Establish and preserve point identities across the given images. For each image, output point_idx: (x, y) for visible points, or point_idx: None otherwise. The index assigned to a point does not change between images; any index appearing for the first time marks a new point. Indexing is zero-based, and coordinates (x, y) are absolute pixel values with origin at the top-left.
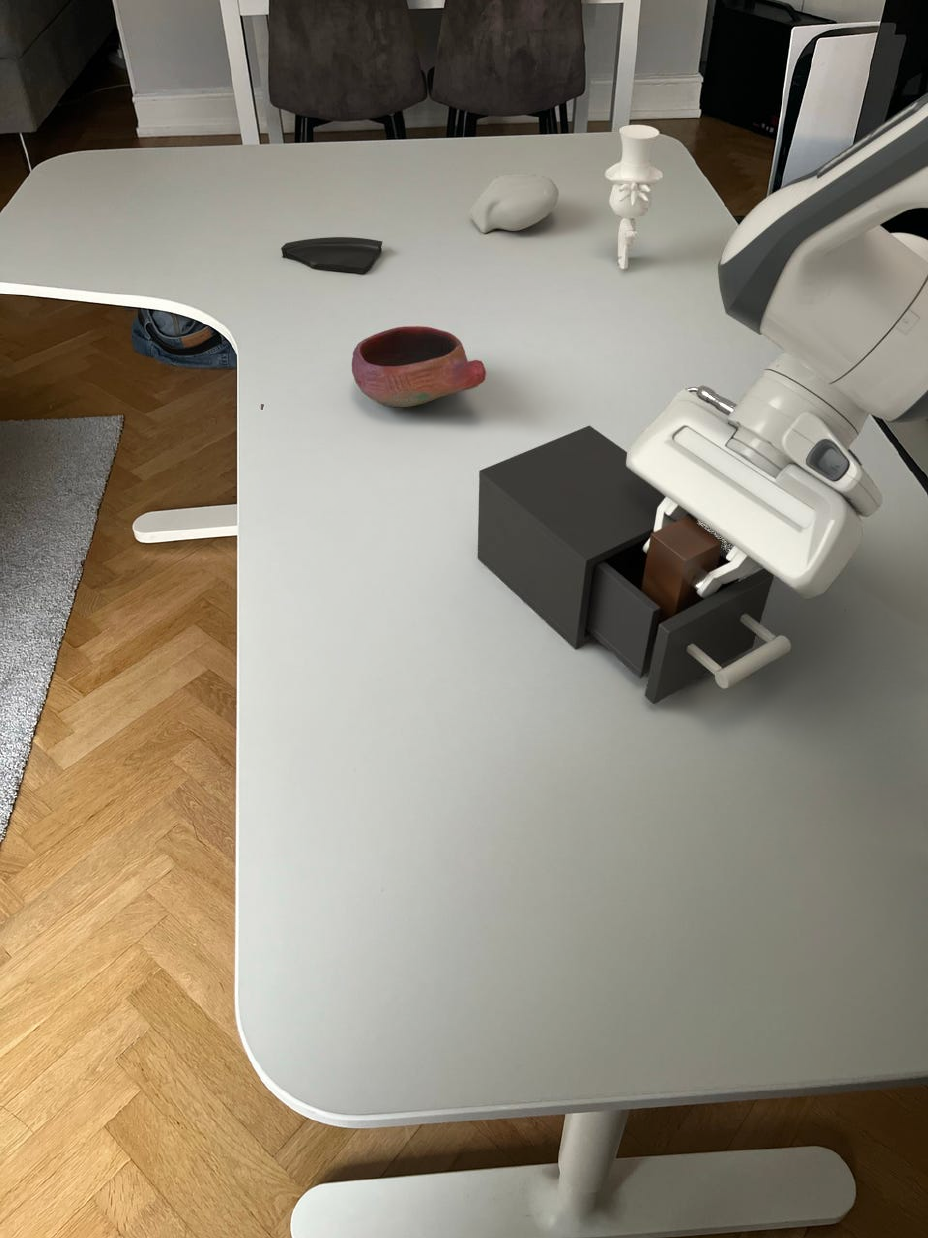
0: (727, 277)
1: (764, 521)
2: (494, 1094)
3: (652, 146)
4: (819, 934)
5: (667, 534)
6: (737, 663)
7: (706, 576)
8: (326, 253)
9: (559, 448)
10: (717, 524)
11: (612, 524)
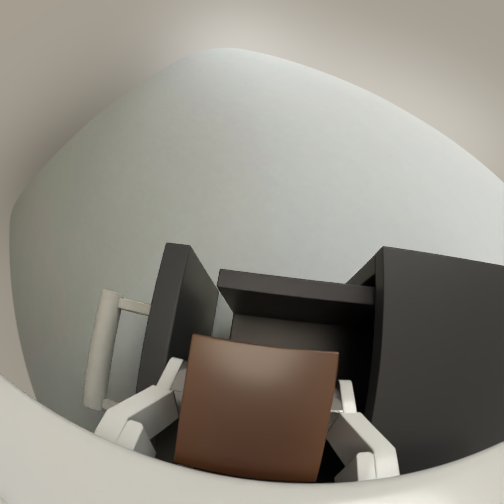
0: None
1: (52, 500)
2: (143, 82)
3: None
4: (41, 223)
5: (304, 385)
6: (103, 320)
7: (174, 383)
8: None
9: None
10: (190, 483)
11: (428, 364)
